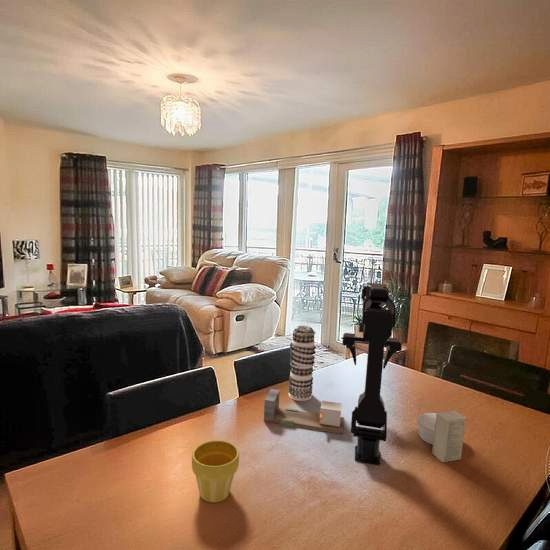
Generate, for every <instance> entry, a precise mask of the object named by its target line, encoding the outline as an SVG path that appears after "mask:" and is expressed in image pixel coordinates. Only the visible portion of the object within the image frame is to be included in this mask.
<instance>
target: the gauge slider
mask: <svg viewBox="0 0 550 550" xmlns="http://www.w3.org/2000/svg"><path fill="white" fill-rule="evenodd" d="M342 404H343V403H342V402H341V403H340V402H334V401H327V400H321V404H320V411H319V414H320V417H319V420H320V424H325V425H332V426H338V427H340V419H341V417H342V416H341V415H342Z"/></svg>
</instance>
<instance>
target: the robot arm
mask: <svg viewBox="0 0 550 550" xmlns="http://www.w3.org/2000/svg"><path fill="white" fill-rule="evenodd" d="M389 293H390V291H389V287H388V286H387V283H376V282H375V283H373V282H367V283H366V285H364V286H363V288H362V289H361V297H360V298H361V300H362V303H363V304H362V313H361V314H362V315H361V322H359V325H358V333H362V337H358V336H356V333H351V332H344V333H343V334H342V335H343V336H342V345H343V346H345V347H346V349H349V351H350V353H351V356H352V359H353V363H354V366H357V349H356V348H357V347H356V344H363V345H365V344H366V345H368V346H367V347H368V348H367V359H366V372H365V382H364V392H363V393H361V394H360V395H359V396H358V400H357V406H355V407H354V409H353V410H352V411H351V421H350V433H351V434H352V436H353V437H355V438H357V443H356V444H357V445H355V447H354V461H356V462H361V463H367V464H373V465H378V466H379V465H381V452H380V443H381V441H382V442H387V433H388V431H387V430H388V428H387V427H388V426H387V425H388V423H387V422H388V411H387V410H386V408H385V402H384V399H383V397H382V395H381V390H382V389H381V388H382V377H383V370H385V368H386V366H387V365H388V363H389V361H390V359H391V358H392V356H393V355H394V354H395V355H396V354H398V352H402V349H403V344H402V341H401V339H400V338H399V337H398V338H397V337H392V334H393V329H394V328H396V327H395V326H396V319H397V318H396V315H397V314H396V311H397V310H396V309H397V307H396V305H395V303H394V302H393V300H392V299H391V298H390V297H389V296H390V295H389ZM382 304H385V307H386V309H384V307H383V305H382ZM357 424H358V425H357Z"/></svg>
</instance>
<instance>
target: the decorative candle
mask: <svg viewBox="0 0 550 550" xmlns="http://www.w3.org/2000/svg"><path fill="white" fill-rule="evenodd" d="M291 331H292V339H291V342H290V344H289V348H290V350H289V353H290V354H289V358H290V359H289V365H290V368H291V369H290V373H289V374H290V375H289V376H288V383H289V384H288V389H287V390H288V397H289V398H290V399H292V400H294V401H298V402H304V401H305V402H306V401H309V400H311V399H312V397H313V395H312V394H313V390H314V389H313V384H314V382H313V381H314V377H313V367H314V366H315V359H316V357H315V356H314V355H315V354H316V349H317V347H316V346H315V334H316V331H315V330H314V329H313V328H312V327H311V326H308V325H298V326H296V327H295V328H294V329H292V330H291Z"/></svg>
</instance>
